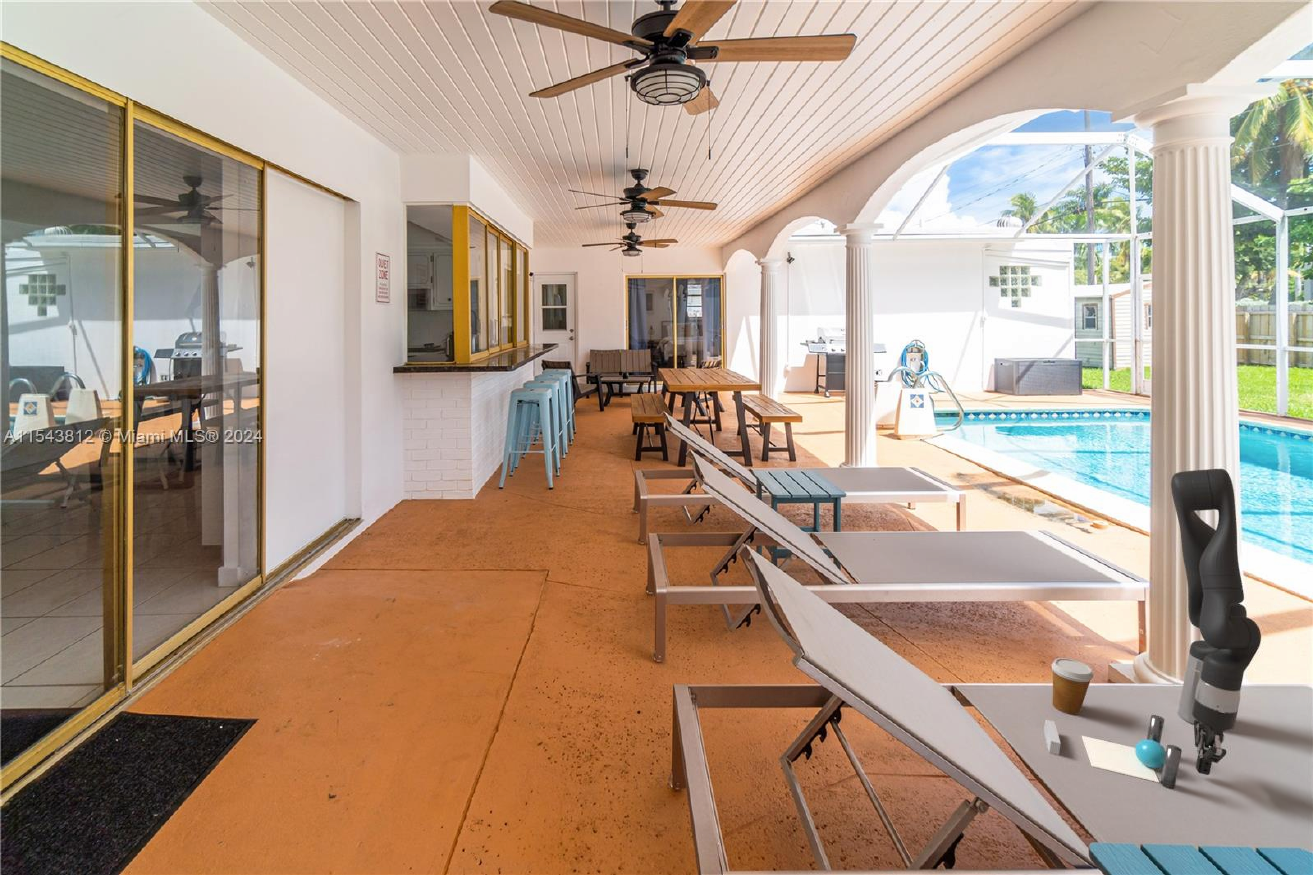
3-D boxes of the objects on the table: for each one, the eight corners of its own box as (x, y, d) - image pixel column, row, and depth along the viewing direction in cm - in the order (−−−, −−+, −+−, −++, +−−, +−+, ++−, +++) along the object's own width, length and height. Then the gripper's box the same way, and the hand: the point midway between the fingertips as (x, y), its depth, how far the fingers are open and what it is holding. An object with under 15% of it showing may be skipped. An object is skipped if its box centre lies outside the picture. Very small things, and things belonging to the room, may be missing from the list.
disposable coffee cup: (1093, 720, 178) (1100, 677, 176) (1053, 714, 180) (1059, 672, 178) (1078, 701, 188) (1085, 659, 186) (1040, 695, 189) (1046, 655, 187)
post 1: (1143, 747, 167) (1149, 713, 166) (1156, 750, 166) (1162, 716, 165) (1146, 754, 165) (1152, 719, 163) (1159, 756, 164) (1165, 722, 162)
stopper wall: (1043, 730, 173) (1045, 719, 172) (1052, 732, 172) (1054, 721, 171) (1049, 752, 164) (1051, 741, 163) (1058, 755, 163) (1060, 743, 162)
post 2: (1158, 780, 155) (1165, 743, 154) (1172, 783, 154) (1179, 746, 153) (1162, 787, 153) (1169, 750, 151) (1176, 790, 152) (1183, 753, 150)
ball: (1146, 731, 163) (1173, 752, 160) (1130, 750, 165) (1156, 770, 161) (1145, 736, 159) (1173, 757, 155) (1128, 755, 160) (1155, 776, 157)
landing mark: (1081, 736, 171) (1081, 735, 171) (1144, 750, 166) (1144, 750, 166) (1091, 766, 159) (1092, 765, 159) (1159, 783, 154) (1159, 782, 154)
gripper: (1186, 683, 161) (1173, 751, 164) (1206, 712, 149) (1191, 785, 152) (1226, 691, 158) (1212, 760, 161) (1249, 721, 146) (1233, 795, 149)
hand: (1202, 772), depth 156 cm, fingers closed
